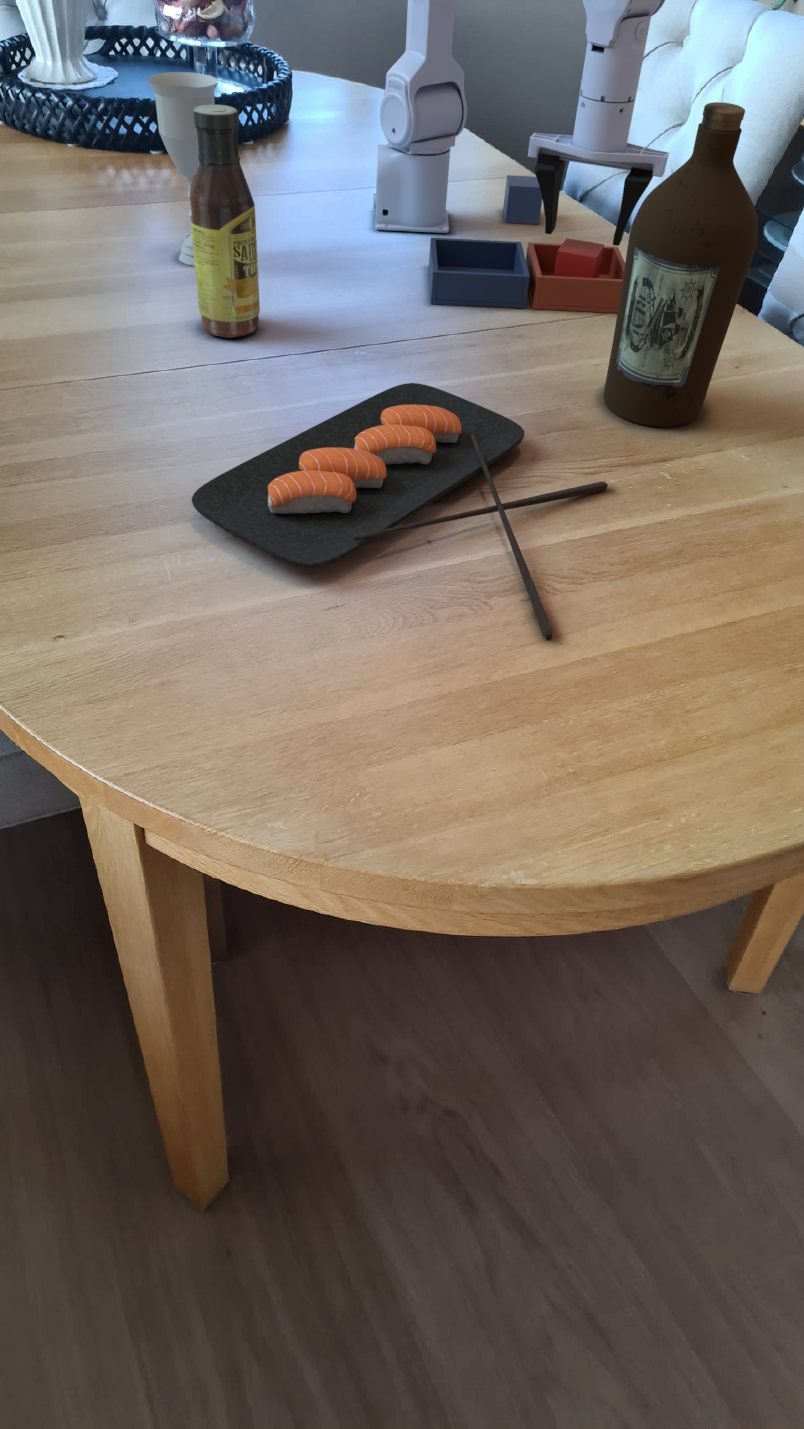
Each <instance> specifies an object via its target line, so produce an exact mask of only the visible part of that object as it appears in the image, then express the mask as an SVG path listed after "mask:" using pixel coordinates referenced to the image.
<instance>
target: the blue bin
mask: <svg viewBox="0 0 804 1429" xmlns="http://www.w3.org/2000/svg"><path fill="white" fill-rule="evenodd" d="M429 241H430V242H429V258H428V280H429V281H428V282H429V298H430V300H429V301H430V305H443V306H444V305H445V306H446V305H447V306H468V307H486V308H505V309H508V308H509V309H526V308H527V301H528V295H529V291H528V287H529V279H530V276H529V272H528V268H527V264H526V256H525V252H524V248H523V243H522V241H509V240H489V239H471V238H470V239H469V238H451V237H430V240H429Z"/></svg>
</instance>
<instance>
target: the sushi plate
mask: <svg viewBox="0 0 804 1429" xmlns="http://www.w3.org/2000/svg"><path fill="white" fill-rule="evenodd" d="M524 437H525V430H524V428H523V427H522V426H521V425H520V424H518V423H517V422H515V421H514V420H512V419H511V418H509V417H506V416H504V415H502V414H500V413H498V412H496V411H494V410H491V409H488V408H486V407H483V406H482V405H480V404H477V403H475V402H472V401H470V400H468V399H465V398H462V397H460V396H458V395H455V394H453V393H450V392H448V391H445V390H442V389H440V388H437V387H435V386H431V385H428V384H424V383H418V382H417V383H416V382H408V383H401V384H398V385H395V386H393V387H390V388H387V389H385V390H382V391H381V392H378V393H377V394H374V395H373V396H370V397H368V398H366V399H365V400H362V401H360V402H359V403H356V404H355V405H353V406H351V407H349V408H347V409H345V410H343V411H341V412H340V413H338V414H335V415H333V416H332V417H329V418H327V419H325V420H324V421H322V422H320V423H318V424H316V425H314V426H312V427H310V428H307V429H306V430H304V431H303V432H300V433H299V434H296V435H295V436H292V437H291V438H289V439H287V440H284V441H283V442H281V443H279V444H277V445H275V446H273V447H271V448H269V449H268V450H267V449H266V450H265V451H263V452H260V454H257V455H256V456H254V457H251V458H250V459H248V460H246V461H244V462H242V463H240V464H238V465H235V467H232V468H231V469H228V470H227V471H225V472H223V473H221V474H219V475H217V476H216V477H214V478H213V479H211V480H209V481H208V482H206V483H204V484H203V485H201V486H200V487H199V488H198V489H197V490H195V491H194V492H193V494H192V497H191V503H192V506H193V507H194V509H195V510H196V512H198V513H199V514H200V516H202V517H204V518H205V519H206V520H208V521H209V522H210V523H212V524H213V525H215V526H217V527H219V528H220V529H222V530H224V531H226V533H229V534H231V535H232V536H234V537H236V538H237V539H240V540H241V541H243V542H245V543H246V544H249V545H250V546H251V547H253V548H255V549H257V550H259V551H261V552H263V553H265V554H267V555H268V556H271V557H272V558H274V559H276V560H279V561H281V562H283V563H285V564H288V565H290V566H294V567H298V568H301V569H310V570H313V569H320V568H324V567H326V566H327V567H328V566H330V565H333V564H335V563H338V562H339V561H341V560H343V559H345V558H347V557H349V556H350V555H352V554H354V553H356V552H357V551H359V550H361V549H362V548H364V547H365V546H368V544H370V543H371V542H374V540H376V539H378V538H379V537H381V536H383V535H389V534H393V533H399V532H403V531H408V530H412V529H413V530H414V529H417V528H418V529H419V528H422V527H423V528H424V527H428V526H432V525H437V524H442V523H446V522H452V521H457V520H463V519H467V518H472V517H476V516H482V515H486V514H487V515H488V514H491V513H497V512H498V514H499V517H500V519H501V522H502V526H503V528H504V530H505V533H506V536H507V539H508V542H509V544H510V547H511V551H512V553H513V556H514V559H515V562H516V564H517V565H516V566H517V567H518V570H519V574H520V576H521V578H522V582H523V584H524V588H525V590H526V592H527V595H528V598H529V601H530V604H531V606H532V609H533V612H534V615H535V617H536V620H537V624H538V626H539V628H540V631H541V633H542V636H543V638H545V640H546V639H552V637H553V634H554V632H553V628H552V626H551V623H550V620H549V618H548V615H547V612H546V609H545V607H544V605H543V602H542V600H541V598H540V595H539V593H538V590H537V588H536V585H535V582H534V580H533V577H532V575H531V573H530V570H529V567H528V565H527V563H526V561H525V558H524V555H523V552H522V551H521V549H520V546H519V543H518V541H517V539H516V536H515V533H514V531H513V529H512V526H511V524H510V521H509V519H508V516H507V514H506V511H507V510H514V509H517V508H518V509H519V508H524V507H529V506H535V505H540V504H545V503H549V502H555V501H560V500H566V499H570V498H575V497H579V496H585V495H590V494H594V493H599V492H604V491H606V490H607V489H608V486H609V484H608V483H607V482H605V481H598V482H591V483H588V484H583V485H580V486H574V487H570V488H566V489H561V490H557V491H552V492H548V493H547V492H546V493H542V494H538V495H535V496H529V497H526V498H521V499H516V500H512V501H508V502H503V503H502V501H501V499H500V496H499V494H498V491H497V488H496V486H495V483H494V481H493V478H492V475H491V474H490V470H489V466H491V465H493V464H494V463H495V462H497V461H499V460H500V459H502V458H503V457H504V456H506V455H507V454H508V453H510V452H511V451H513V450H514V449H515V448H517V446H519V445H520V444H521V442H522V441H523V440H524ZM481 471H483V473H484V476H485V479H486V481H487V484H488V487H489V490H490V493H491V495H492V497H493V500H494V502H495V505H491V506H486V507H482V508H477V509H474V510H473V509H472V510H468V511H464V512H463V511H462V512H460V513H454V514H449V515H444V516H440V517H436V518H432V519H426V520H422V521H417V522H413V523H412V522H411V523H408V524H404V525H403V524H402V525H400V524H401V523H403V522H404V521H406V520H408V519H409V518H410V517H412V516H414V515H415V514H416V513H419V512H420V511H422V510H423V509H424V508H426V507H427V506H430V504H432V503H433V502H435V501H437V500H438V499H439V498H441V497H443V496H444V495H446V494H448V493H449V492H451V491H452V490H454V489H455V488H457V487H458V486H460V485H462V484H464V482H466V481H468V480H469V479H471V478H472V477H474V476H475V475H477V474H478V473H481ZM398 525H399V526H398Z"/></svg>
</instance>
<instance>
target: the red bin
mask: <svg viewBox="0 0 804 1429" xmlns="http://www.w3.org/2000/svg"><path fill="white" fill-rule="evenodd" d="M562 244H563V243H552V242H551V243H549V242H527V246H526V247H527V248H526V256H525V260H526V264H527V268H528V272H529V276H530V279H529V287H528V295H529V299H530V303H531V307H532V308H531V309H532V310H547V311H548V310H549V311H571V312H588V313H589V312H590V313H609V314H610V313H611V314H617V313H618V307H619V301H620V294H621V288H622V281H623V275H624V268H625V260H624V258H623V255H622V252H621V251H620V248H619V247H618V246H608V245H607V246H606V245H604V250H603V255H602V261H601V266H600V271H599V277H598V278H583V277H563V276H554V271H555V264H556V258H557V251H558V250H559V248H560V247H561V245H562Z"/></svg>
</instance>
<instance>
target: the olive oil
mask: <svg viewBox="0 0 804 1429" xmlns="http://www.w3.org/2000/svg"><path fill="white" fill-rule="evenodd" d="M745 114H746V109H745V108H744V107H742V106H740V105H738V104H734V103H731V102H730V103H729V102H721V101H720V102H719V101H718V102H716V101H715V102H709V103H706V104H705V105H704V107H703V111H702V118H701V119H702V120H701V122H700V123H699V124H698V126H697V131H696V135H695V140H694V145H693V150H692V153H691V155H690V157H689V158H688V159H687V160H686V161H685V162H684V163H683V164H682V165H681V166H680V167H678V168H676V170H675V171H674V172H673V173H671V174H669V176H668V177H666V178H665V179H664V180H663V181H662V182H660V183H659V184H658V185H657V186H656V187H654V188H653V189H652V190H651V191H650V192H649V193H648V194H647V196H646V197H645V198H644V200H643V201H642V203H641V204H640V205H639V206H640V207H639V208H638V210H637V212H636V214H635V216H634V218H633V221H632V224H631V227H630V230H629V236H628V242H627V249H626V255H625V260H624V262H625V268H624V275H623V281H622V288H621V294H620V301H619V307H618V313H616V321H615V327H614V331H613V338H612V345H611V350H610V356H609V361H608V367H607V373H606V378H605V384H604V389H603V401H604V404H605V405H606V406H607V408H608V409H609V410H610V411H611V412H612V413H613V414H615V415H617V416H619V417H620V418H622V419H624V420H626V421H629V422H632V423H635V424H638V425H643V426H647V427H655V428H674V427H681V426H684V425H687V424H690V423H692V422H693V421H695V420H696V419H697V418H698V417H699V416H700V414H701V411H702V408H703V406H704V403H705V400H706V397H707V395H708V391H709V387H710V384H711V382H712V378H713V376H714V375H713V374H714V371H715V368H716V365H717V362H718V359H719V356H720V354H721V351H722V348H723V344H724V342H725V338H726V335H727V333H728V330H729V327H730V324H731V320H732V319H733V316H734V313H735V310H736V307H737V304H738V300H739V298H740V295H741V292H742V289H743V286H744V284H745V281H746V278H747V276H748V272H749V269H750V267H751V264H752V261H753V258H754V256H755V252H756V249H757V242H758V232H759V231H758V230H759V227H758V226H759V225H758V214H757V211H756V210H757V209H756V207H755V205H754V203H753V200H752V198H751V196H750V194H749V192H748V190H747V189H746V187H745V185H744V183H743V181H742V179H741V177H740V175H739V173H738V171H737V169H736V167H735V164H734V160H735V155H736V152H737V149H738V145H739V141H740V138H741V135H742V128H741V125H742V121H743V120H744V118H745Z"/></svg>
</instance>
